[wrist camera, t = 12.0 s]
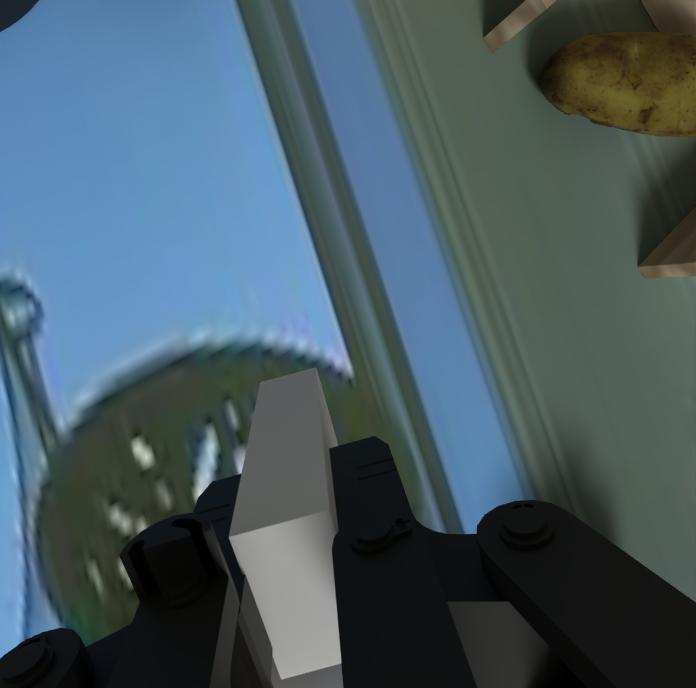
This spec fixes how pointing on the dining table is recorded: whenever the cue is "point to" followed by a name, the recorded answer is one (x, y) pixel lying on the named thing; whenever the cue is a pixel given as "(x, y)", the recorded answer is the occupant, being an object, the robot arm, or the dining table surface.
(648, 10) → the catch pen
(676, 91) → the potato
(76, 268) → the dining table surface
